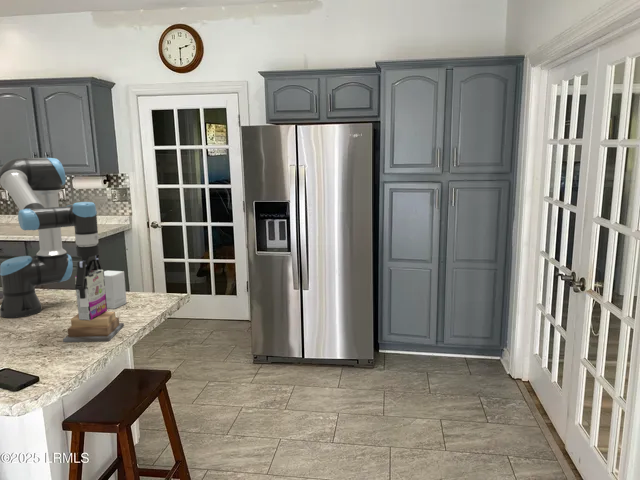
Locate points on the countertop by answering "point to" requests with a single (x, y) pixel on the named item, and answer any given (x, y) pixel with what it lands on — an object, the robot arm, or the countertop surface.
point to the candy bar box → (93, 296)
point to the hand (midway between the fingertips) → (92, 301)
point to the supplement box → (115, 288)
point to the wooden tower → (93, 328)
